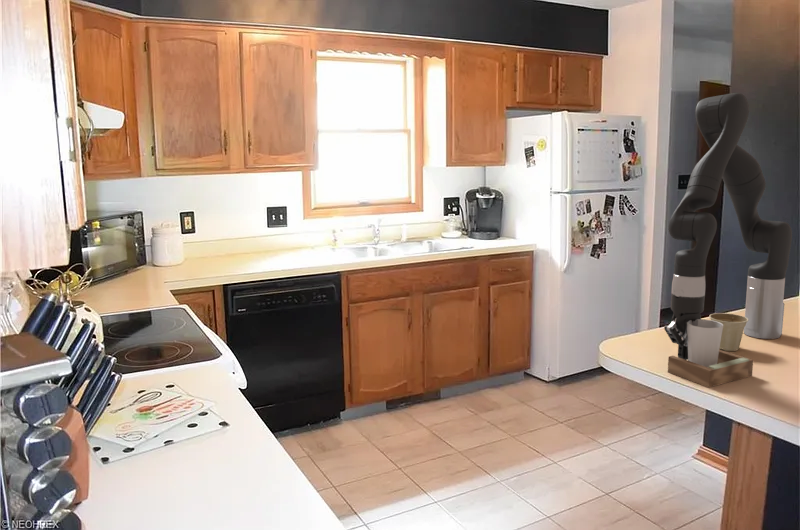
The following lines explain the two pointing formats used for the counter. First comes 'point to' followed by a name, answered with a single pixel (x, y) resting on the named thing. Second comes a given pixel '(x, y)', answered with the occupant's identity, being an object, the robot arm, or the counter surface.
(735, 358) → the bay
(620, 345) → the counter surface
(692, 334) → the cup
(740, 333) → the flower pot
